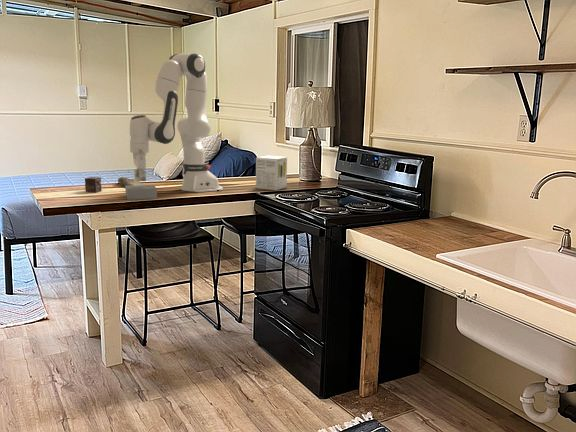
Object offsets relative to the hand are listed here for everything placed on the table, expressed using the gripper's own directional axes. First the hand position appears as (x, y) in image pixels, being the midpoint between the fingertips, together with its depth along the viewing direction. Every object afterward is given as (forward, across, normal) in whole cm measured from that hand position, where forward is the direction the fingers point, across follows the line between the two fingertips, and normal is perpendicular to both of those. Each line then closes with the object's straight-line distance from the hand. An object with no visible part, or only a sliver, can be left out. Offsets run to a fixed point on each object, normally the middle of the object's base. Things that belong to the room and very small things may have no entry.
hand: (140, 176), depth 279 cm
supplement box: (+10, +12, -73) cm, 75 cm away
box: (+11, +22, +22) cm, 33 cm away
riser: (+10, 0, 0) cm, 10 cm away
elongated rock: (+11, +32, 0) cm, 34 cm away
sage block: (+2, 0, 0) cm, 2 cm away
